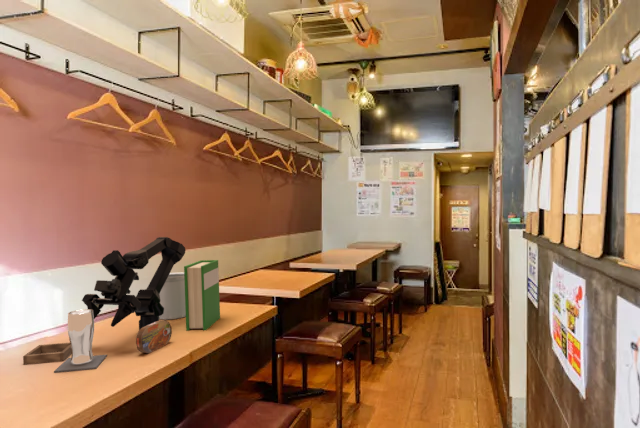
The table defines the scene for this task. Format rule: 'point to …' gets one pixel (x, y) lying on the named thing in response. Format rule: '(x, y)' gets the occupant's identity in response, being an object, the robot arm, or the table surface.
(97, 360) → the rubber mat
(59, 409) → the table surface
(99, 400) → the table surface
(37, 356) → the brown square tray
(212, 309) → the hardback book
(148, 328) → the tin
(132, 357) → the table surface
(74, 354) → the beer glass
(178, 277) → the utensil holder
